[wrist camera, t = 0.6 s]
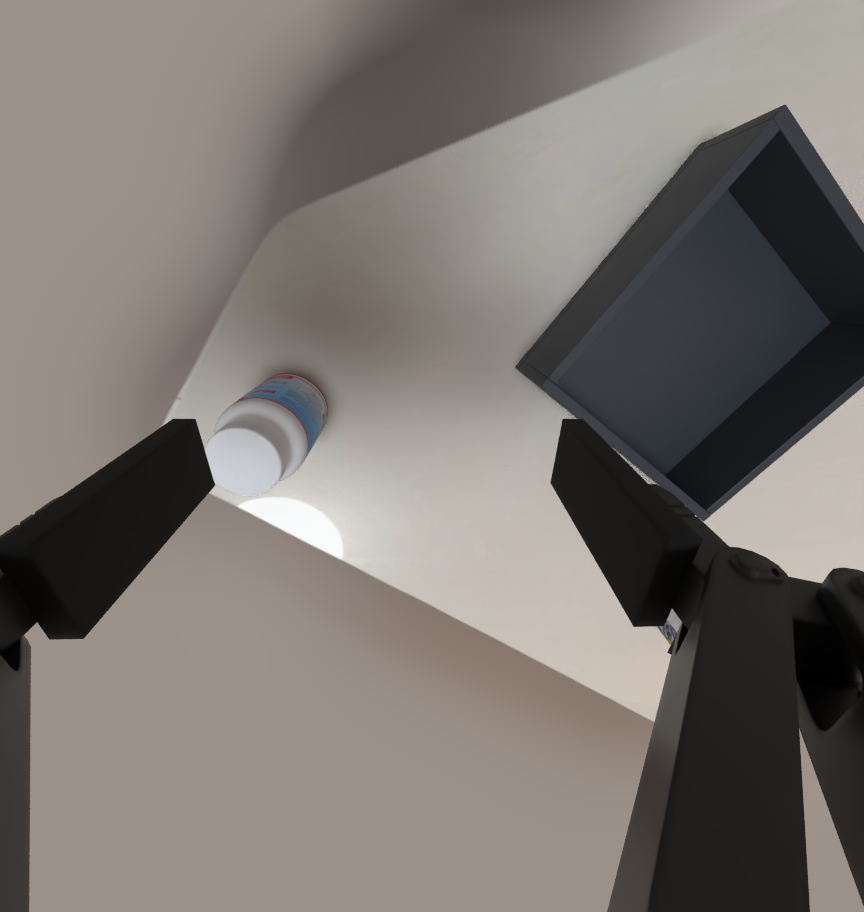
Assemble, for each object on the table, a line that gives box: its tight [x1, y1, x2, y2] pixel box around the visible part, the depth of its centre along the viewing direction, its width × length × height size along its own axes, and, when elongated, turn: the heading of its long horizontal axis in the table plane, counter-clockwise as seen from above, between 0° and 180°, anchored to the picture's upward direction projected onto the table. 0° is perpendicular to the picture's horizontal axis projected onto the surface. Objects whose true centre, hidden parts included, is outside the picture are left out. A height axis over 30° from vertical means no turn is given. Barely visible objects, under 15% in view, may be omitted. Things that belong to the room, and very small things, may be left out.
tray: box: [515, 105, 864, 521], centre depth 30 cm, size 20×20×7 cm
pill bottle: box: [204, 374, 327, 496], centre depth 28 cm, size 6×6×11 cm
